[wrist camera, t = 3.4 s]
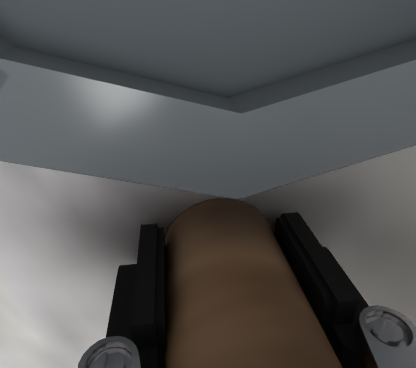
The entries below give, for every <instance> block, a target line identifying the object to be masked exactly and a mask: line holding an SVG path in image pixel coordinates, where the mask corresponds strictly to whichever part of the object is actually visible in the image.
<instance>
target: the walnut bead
mask: <svg viewBox="0 0 416 368" xmlns="http://www.w3.org/2000/svg"><path fill="white" fill-rule="evenodd" d="M165 251H166V347H167V348H166V352H165V368H342V366H341V364H340V362H339V360H338V358H337V356H336V354H335V352H334V350H333V348H332V346H331V344H330V343H329V341H328V339H327V337H326V335H325V333H324V331H323V329H322V327H321V325H320V323H319V321H318V319H317V317H316V315H315V313H314V311H313V309H312V307H311V305H310V303H309V302H308V300H307V298H306V296H305V294H304V292H303V290H302V288H301V286H300V284H299V282H298V280H297V278H296V276H295V274H294V272H293V270H292V268H291V266H290V264H289V262H288V261H287V259H286V257H285V255H284V253H283V251H282V249H281V247H280V245H279V243H278V241H277V239H276V237H275V235H274V233H273V231H272V229H271V227H270V225H269V223H268V221H267V220H266V218H265V217H264V215H263V214H262V213H261V212H260V211H259V210H258V209H257V208H255V207H254V206H252V205H250V204H248V203H246V202H243V201H240V200H236V199H227V198H221V199H212V200H207V201H204V202H201V203H198V204H196V205H194V206H192V207H190V208H188V209H187V210H185V211H184V212H183V213H181V214H180V215H179V216H178V217H177V218H176V219H175V220H174V221H173V223H172V224H171V226H170V227H169V229H168V231H167V234H166V237H165Z"/></svg>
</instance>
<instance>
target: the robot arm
mask: <svg viewBox="0 0 416 368" xmlns="http://www.w3.org/2000/svg"><path fill="white" fill-rule="evenodd" d="M274 235H275V237H276V239H277V241H278V243H279V245H280V247H281V249H282V251H283V253H284V255H285V257H286V259H287V261H288V262H289V264H290V266H291V268H292V270H293V272H294V274H295V276H296V278H297V280H298V282H299V284H300V286H301V288H302V290H303V292H304V294H305V296H306V298H307V300H308V302H309V303H310V305H311V307H312V309H313V311H314V313H315V315H316V317H317V319H318V321H319V323H320V325H321V327H322V329H323V331H324V333H325V335H326V337H327V339H328V341H329V343H330V344H331V346H332V348H333V350H334V352H335V354H336V356H337V358H338V360H339V362H340V364H341V366H342V368H416V327H415V326H414V325H413V324H412V322H411V321H410V320H408V319H407V318H406V317H405V316H404V315H402V314H400V313H399V312H397V311H395V310H393V309H390V308H388V307H383V306H368V304H367V303H366V301H365V300H364V299H363V297H362V296H361V294H360V293H359V292H358V290H357V289H356V287H355V286H354V285H353V283H352V282H351V280H350V279H349V278H348V276H347V275H346V273H345V272H344V271H343V269H342V268H341V266H340V265H339V264H338V262H337V261H336V259H335V258H334V257H333V255H332V254H331V252H330V251H329V250H328V249H327V248H326V247H324V246H323V247H322V246H321V244H320V243H319V241H318V240H317V239H316V237H315V236H314V234H313V233H312V231H311V230H310V228H309V227H308V226H307V224H306V223H305V221H304V220H303V218H302V217H301V216H300V214H299V213H297V212H296V213H283V214H281V217H280V218H277V219H276V223H275V232H274ZM166 348H167V347H166V251H165V236H164V227H161V228H158V225H157V224H146V225H141V230H140V239H139V249H138V258H137V264H131V265H120V266H119V268H118V273H117V278H116V284H115V289H114V295H113V300H112V306H111V312H110V317H109V323H108V328H107V334H106V338H104V339H102V340H99V341H98V342H96V343H95V344H93V345H92V346H91V347H90V348H89V349H88V350H87V351H86V352H85V353H84V354H83V356H82V358H81V360H80V362H79V364H78V368H165V352H166Z"/></svg>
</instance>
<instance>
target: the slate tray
mask: <svg viewBox="0 0 416 368" xmlns="http://www.w3.org/2000/svg"><path fill="white" fill-rule="evenodd" d="M414 145H416V0H0V161H4V162H10V163H16V164H22V165H28V166H34V167H41V168H47V169H53V170H59V171H65V172H72V173H78V174H84V175H90V176H96V177H102V178H109V179H115V180H121V181H127V182H133V183H140V184H146V185H152V186H158V187H164V188H170V189H177V190H183V191H189V192H195V193H201V194H208V195H214V196H220V197H226V198H232V199H241V198H244V197H247V196H250V195H254V194H257V193H260V192H264V191H267V190H270V189H273V188H277V187H280V186H283V185H287V184H290V183H293V182H296V181H300V180H303V179H306V178H310V177H313V176H316V175H319V174H323V173H326V172H329V171H332V170H336V169H339V168H342V167H346V166H349V165H352V164H355V163H359V162H362V161H365V160H369V159H372V158H375V157H378V156H382V155H385V154H388V153H392V152H395V151H398V150H401V149H405V148H408V147H411V146H414Z"/></svg>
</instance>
